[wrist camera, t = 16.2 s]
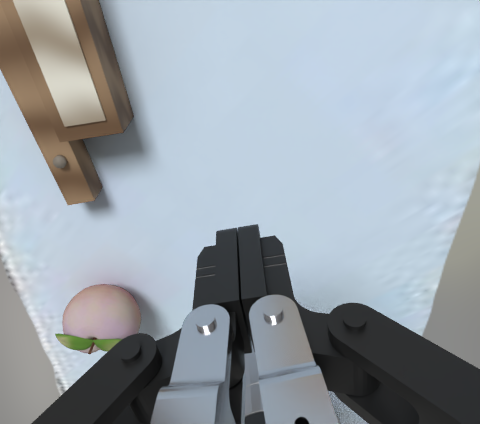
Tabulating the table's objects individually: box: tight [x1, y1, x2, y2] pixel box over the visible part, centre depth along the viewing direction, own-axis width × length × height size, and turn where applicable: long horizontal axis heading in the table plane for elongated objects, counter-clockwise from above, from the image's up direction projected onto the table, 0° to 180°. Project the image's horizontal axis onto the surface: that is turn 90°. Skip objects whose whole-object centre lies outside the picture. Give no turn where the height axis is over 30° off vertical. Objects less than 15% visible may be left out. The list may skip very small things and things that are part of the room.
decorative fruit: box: [55, 284, 141, 354], centre depth 46 cm, size 9×8×10 cm
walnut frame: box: [0, 0, 134, 142], centre depth 32 cm, size 16×6×5 cm, turn 8°
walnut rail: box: [0, 4, 102, 205], centre depth 33 cm, size 30×3×4 cm, turn 10°
